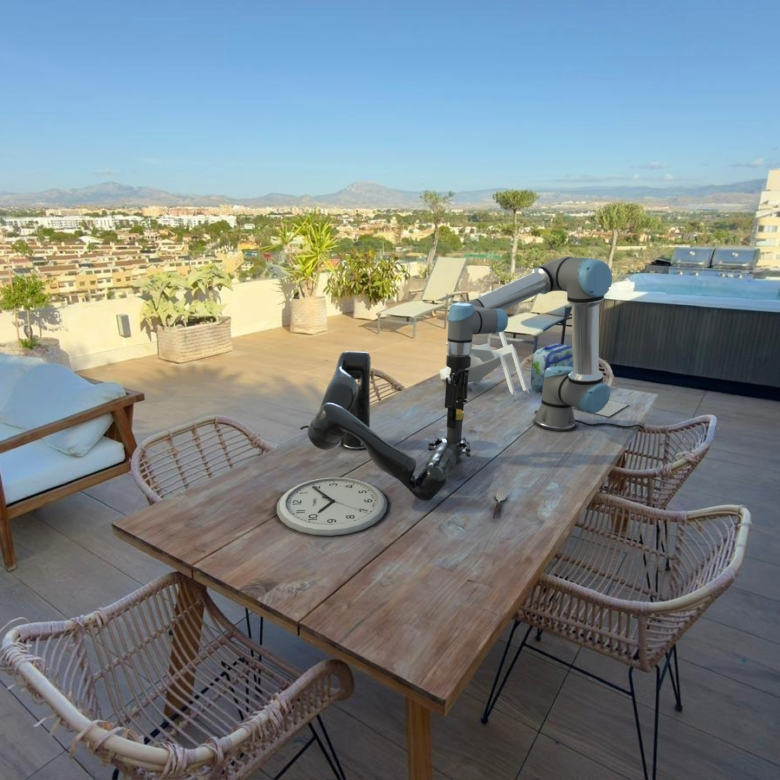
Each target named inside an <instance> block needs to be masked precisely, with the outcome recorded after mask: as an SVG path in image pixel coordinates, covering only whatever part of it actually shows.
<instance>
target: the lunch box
mask: <svg viewBox="0 0 780 780" xmlns="http://www.w3.org/2000/svg"><path fill="white" fill-rule="evenodd" d="M556 366H567V367H573V347H572V345H568V344H562V343H553V344H550V345H547V346H546V345H545V346H544V347H541V348H538V349H537V350H536V351H535V352H534V354H533V357H532V362H531V371H530V372H531V374H530V387H531V389H533V390H539V391H543V380H544V374H545V370H546V369H547V368H549V367H556Z"/></svg>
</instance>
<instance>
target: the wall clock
mask: <svg viewBox="0 0 780 780" xmlns="http://www.w3.org/2000/svg"><path fill="white" fill-rule="evenodd" d="M387 509H388V500H387V498H386V496H385V494H384V493H383V492H382V491H381V490H380V489H379V488H377V487H376V486H374V485H372V484H371V483H369V482H365V481H362V480H359V479H355V478H349V477H338V476H337V477H335V476H333V477H332V476H331V477H322V478H317V479H312V480H307V481H305V482H302V483H299V484H297V485H295V486H293V487H292V488H290V489H288V490H287V491H286V492H285V493H284V494H283V495H281V496H280V498H279V499H278V502H277V503H276V515H277V517H278V518H279V520H280V521H281V522H282V523H283V524H285V525H286V526H287V527H288V528H290V529H293V530H295V531H297V532H299V533H303V534H308V535H312V536H327V537H328V536H329V537H331V536H332V537H333V536H342V535H350V534H352V533H356V532H361V531H363V530H366V529H368V528H369V527H372V526H373V525H375V524H376V523H378V522H379V521H380V520H381V519H382V518H383V517H384V516H385V514H386V512H387Z"/></svg>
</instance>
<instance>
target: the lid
mask: <svg viewBox="0 0 780 780" xmlns="http://www.w3.org/2000/svg"><path fill="white" fill-rule="evenodd" d="M447 412H448V409H447V411H446V413H447ZM464 418H465V411H464V410H460V409H457V410H456V420H461V419H463V420H464Z"/></svg>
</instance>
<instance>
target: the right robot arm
mask: <svg viewBox="0 0 780 780" xmlns="http://www.w3.org/2000/svg"><path fill="white" fill-rule="evenodd" d="M612 283H613V272H612V269H611V268H610V266H609V265H608V264H607V263H606V261H604V260H601V259H596V258H588V257H575V256H574V257H573V256H565V257H560V258H556V259H553V260H552V261H549V262H546V263H544V264H542V265H540V266H538V267H535V268H533V269H532V271H531V273H529V274H527V275H525V276H522V277H521V278H518V279H516V280H513V281H511V282H509V283H507V284H505V285H502V286H500V287H498V288H496V289H494V290H492V291H490V292H487V293H485V294H483V295H480V296H479V297H475V298H474V299H472V300H469V301H467V302H465V301H458V302H454V303H452V304H450V306H449V309H448V317H447V321H448V322H447V342H445V345H446V353H447V354H446V359H445V360H446V361H445V365H446V367H449V368H450V369H451V371H450V375H449V378H447V377H446V385H445V392H444V393H445V396H444V408H445V409H447V410H448V412H447V411H446V428H447V427H449V428H454V429H455V427H456V410H457V409H460V410H463V411H464V410H465V409H464V408H465V404H467V403H468V385H469V382H468V374H469V370H467V368H469V367H470V365H471V356H470V354H471V352H472V347H473V335H486V334H487V335H489V334H497V333H498V334H499V332H503V331H504V332H505V330H506V329H507V327H508V325H509V316H508V313H507V311H505V310H508V309H510V308H511V307H514V306H515V305H518V304H520V303H522V302H525V301H526V300H529V299H531V298H533V297H535V296H537V295H540V294H541V295H547V294H548V293H551V292H565V293H566V301H567V302H568V304H570V306H571V330H572V331H571V332H572V333H571V337H572V338H571V339H572V340H571V341H572V343H571V344H572V345H571V346H572V347H573V367H567V366H556V367H549V368H547V369H546V370H545V374H544V380H543V390H541V391H542V392H541V402H540V405H539V407H538V409H535V410H534V415H535V416H534V424H535V425H536V426H537V427H539V428H542V429H544V430H549V431H556V432H567V431H572V430H574V429H575V428H576V423H578V424H582V425H585V426H592V427H594V426H595V427H596V426H603V425H604V426H613V427H618V428H622V429H623V428H624V429H631V428H635V427H638V428H640V429H641V430H642V429H643V430H645V427H644V426H642V425H641V424H633V425H622V424H616V423H612V422H596V423H588V422H585V421H583V420H578V419H576V418H575V417H576V416H575V413H574V409H576V408H577V409H576V410H579V411H581V412H583V413H587V414H596V412H598V411H600V410H601V409H603V408H604V406H605V405H606V404H607V402H608V400H610V397H611V388H610V387H609V385H608V384H606V383H604V373H603V372H602V371H601V370H600V368H599V363H600V362H599V358H600V357H599V354H600V351H599V350H600V343H599V342H600V304H601V302H602V301H604V299H605V295H606V294H608V292H609V291H610V288H611V287H612ZM574 407H575V408H574ZM463 422H464V418H463V419H462V423H463Z"/></svg>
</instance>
